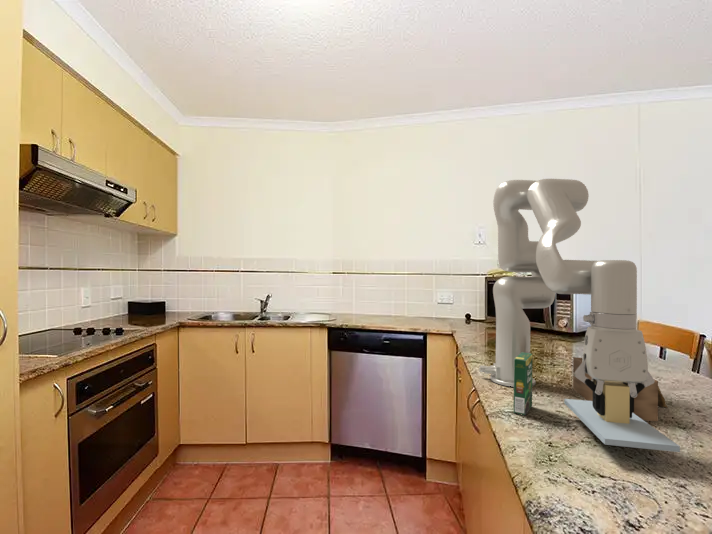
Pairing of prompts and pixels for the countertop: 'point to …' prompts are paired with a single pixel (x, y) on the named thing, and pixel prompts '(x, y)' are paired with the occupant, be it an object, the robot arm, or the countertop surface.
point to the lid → (620, 421)
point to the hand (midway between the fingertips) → (612, 413)
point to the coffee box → (523, 383)
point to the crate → (642, 403)
